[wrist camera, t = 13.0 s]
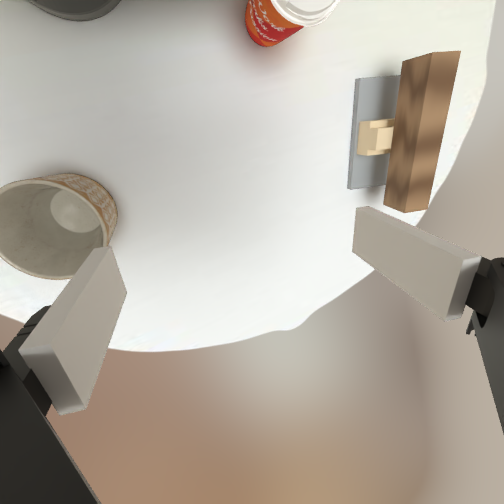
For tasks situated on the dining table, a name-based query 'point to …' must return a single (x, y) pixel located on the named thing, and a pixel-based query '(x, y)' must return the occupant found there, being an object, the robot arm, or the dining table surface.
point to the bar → (419, 129)
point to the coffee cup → (283, 18)
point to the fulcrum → (372, 130)
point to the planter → (54, 224)
